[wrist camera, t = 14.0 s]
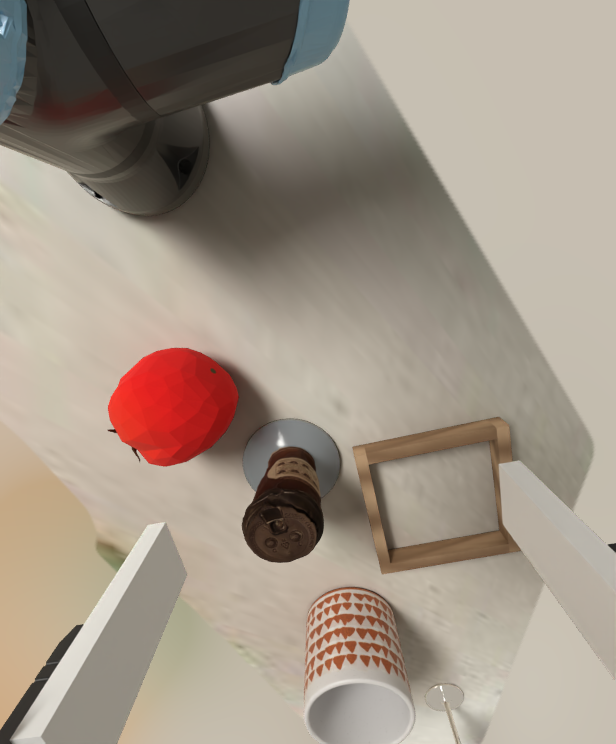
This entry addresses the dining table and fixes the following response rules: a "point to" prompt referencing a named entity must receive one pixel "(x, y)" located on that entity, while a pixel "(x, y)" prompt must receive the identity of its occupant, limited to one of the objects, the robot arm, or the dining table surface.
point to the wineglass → (445, 702)
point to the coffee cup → (285, 508)
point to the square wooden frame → (425, 443)
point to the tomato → (173, 405)
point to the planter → (355, 671)
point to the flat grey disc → (296, 436)
